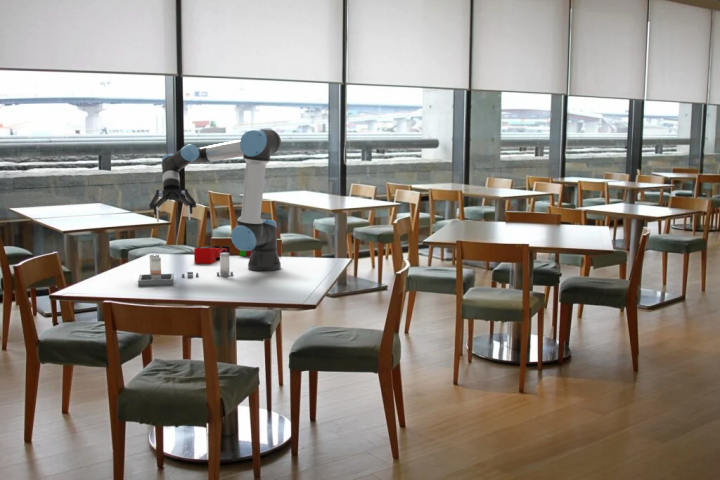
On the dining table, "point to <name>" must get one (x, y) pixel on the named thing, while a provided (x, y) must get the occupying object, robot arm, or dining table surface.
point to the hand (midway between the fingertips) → (173, 219)
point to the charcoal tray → (165, 280)
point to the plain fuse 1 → (150, 260)
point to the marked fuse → (156, 268)
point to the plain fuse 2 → (224, 263)
